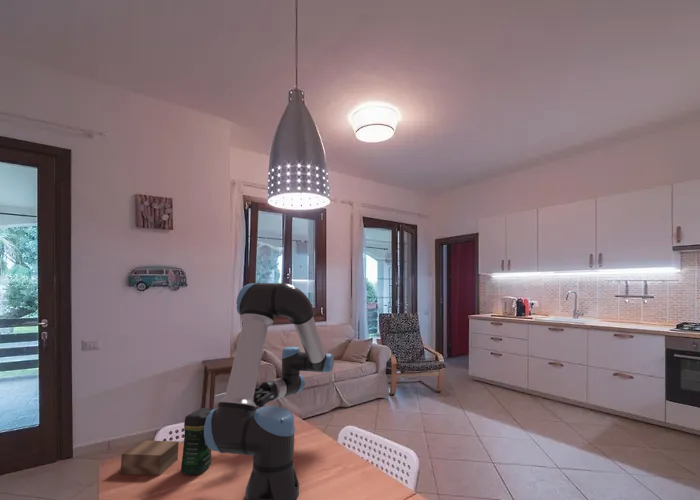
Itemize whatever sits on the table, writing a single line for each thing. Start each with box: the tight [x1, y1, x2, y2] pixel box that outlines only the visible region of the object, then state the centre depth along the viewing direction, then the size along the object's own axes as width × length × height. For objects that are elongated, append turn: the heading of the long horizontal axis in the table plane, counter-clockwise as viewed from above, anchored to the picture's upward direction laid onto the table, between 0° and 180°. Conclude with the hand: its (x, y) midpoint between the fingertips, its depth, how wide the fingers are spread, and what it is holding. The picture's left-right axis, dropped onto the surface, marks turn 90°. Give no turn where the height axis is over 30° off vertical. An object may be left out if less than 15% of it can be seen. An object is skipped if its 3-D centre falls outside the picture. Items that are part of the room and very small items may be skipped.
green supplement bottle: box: [180, 407, 212, 476], centre depth 122 cm, size 10×8×19 cm
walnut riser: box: [119, 439, 179, 476], centre depth 123 cm, size 13×11×6 cm
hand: (225, 403), depth 131 cm, fingers open, 13 cm apart
